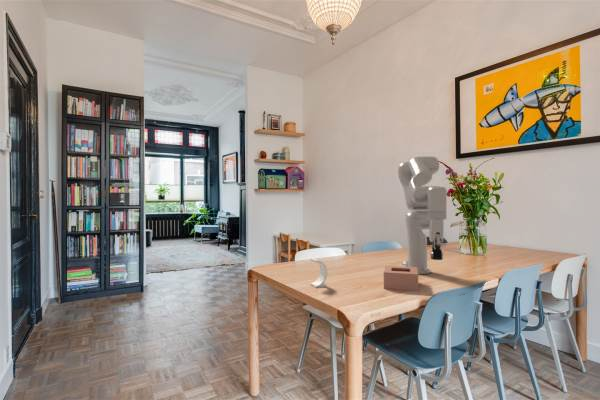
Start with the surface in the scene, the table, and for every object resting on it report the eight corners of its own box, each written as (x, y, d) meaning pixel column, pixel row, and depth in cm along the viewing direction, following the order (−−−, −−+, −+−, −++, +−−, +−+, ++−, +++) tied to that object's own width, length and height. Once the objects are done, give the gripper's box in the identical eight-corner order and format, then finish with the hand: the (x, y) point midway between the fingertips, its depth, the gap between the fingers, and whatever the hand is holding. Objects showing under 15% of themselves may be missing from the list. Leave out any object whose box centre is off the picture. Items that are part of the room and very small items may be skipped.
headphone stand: (310, 285, 146) (310, 258, 146) (321, 283, 149) (321, 257, 149) (316, 287, 142) (315, 260, 142) (327, 285, 145) (327, 259, 145)
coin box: (383, 288, 140) (383, 272, 140) (385, 280, 153) (385, 265, 153) (418, 291, 136) (418, 274, 136) (416, 282, 149) (416, 267, 149)
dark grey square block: (428, 258, 141) (428, 252, 141) (434, 257, 144) (434, 250, 143) (438, 260, 137) (438, 253, 137) (444, 258, 140) (444, 252, 140)
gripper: (426, 213, 149) (426, 253, 149) (428, 217, 133) (428, 261, 133) (444, 213, 146) (443, 254, 147) (449, 217, 130) (448, 262, 131)
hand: (436, 257), depth 140 cm, fingers closed on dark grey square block, 4 cm apart
